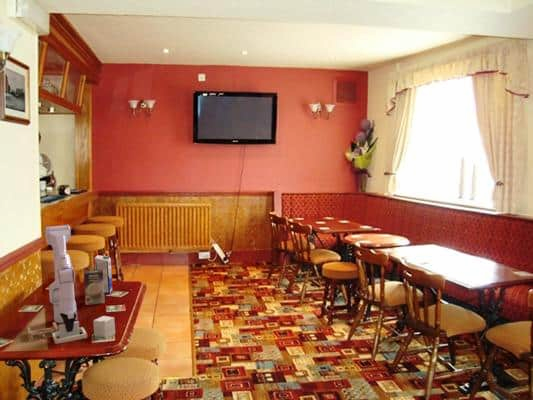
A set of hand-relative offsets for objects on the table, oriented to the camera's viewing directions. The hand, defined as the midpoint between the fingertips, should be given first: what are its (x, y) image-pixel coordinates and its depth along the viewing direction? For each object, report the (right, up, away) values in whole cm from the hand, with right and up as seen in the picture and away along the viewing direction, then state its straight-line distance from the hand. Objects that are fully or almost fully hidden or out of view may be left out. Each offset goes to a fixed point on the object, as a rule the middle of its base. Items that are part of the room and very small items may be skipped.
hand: (69, 330), depth 205 cm
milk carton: (-6, +3, +65) cm, 66 cm away
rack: (-13, -3, +4) cm, 14 cm away
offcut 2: (-9, -3, +2) cm, 10 cm away
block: (0, -3, 0) cm, 3 cm away
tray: (0, -4, 0) cm, 4 cm away
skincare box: (+13, -3, +3) cm, 14 cm away
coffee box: (-6, +1, +48) cm, 49 cm away
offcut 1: (-13, -3, 0) cm, 13 cm away
